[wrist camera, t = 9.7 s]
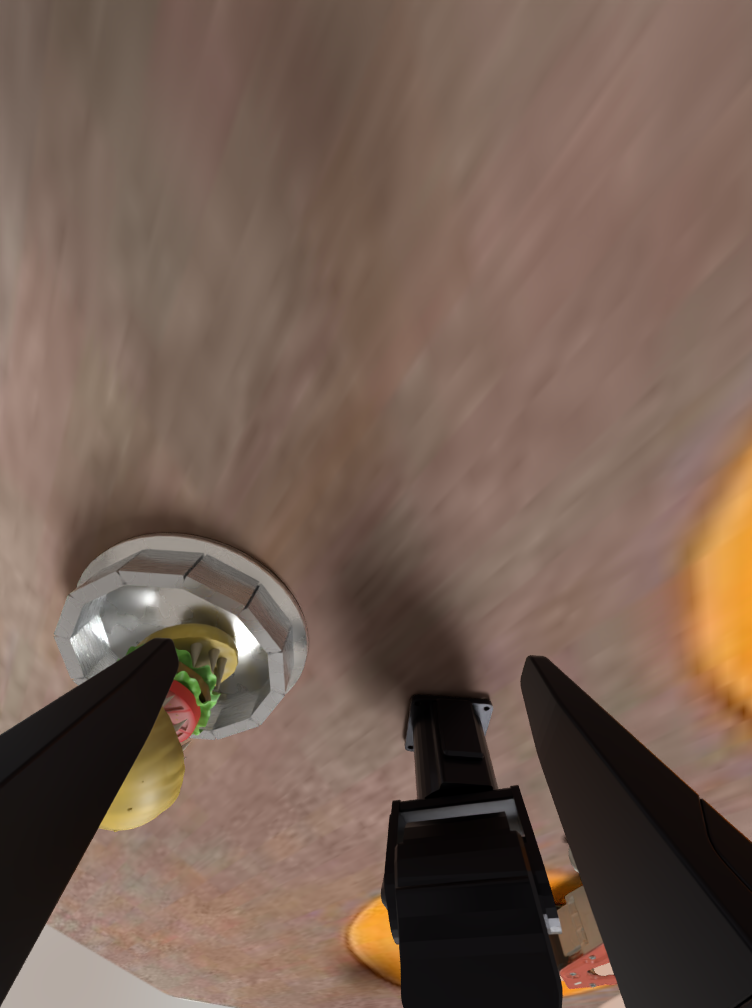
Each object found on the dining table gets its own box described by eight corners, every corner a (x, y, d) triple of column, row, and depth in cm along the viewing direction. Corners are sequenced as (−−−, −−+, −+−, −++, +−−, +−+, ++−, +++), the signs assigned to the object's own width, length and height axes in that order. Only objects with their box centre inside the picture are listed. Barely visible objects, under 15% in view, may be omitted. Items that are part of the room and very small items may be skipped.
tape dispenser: (574, 806, 37) (489, 903, 43) (603, 873, 32) (501, 972, 38) (721, 853, 38) (616, 941, 44) (771, 925, 33) (644, 1013, 39)
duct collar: (310, 715, 29) (302, 754, 27) (112, 701, 30) (83, 738, 27) (306, 541, 23) (294, 568, 20) (49, 524, 23) (1, 548, 20)
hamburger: (222, 688, 28) (112, 910, 17) (135, 649, 26) (-49, 862, 15) (265, 627, 25) (167, 843, 14) (170, 580, 24) (-22, 778, 13)
